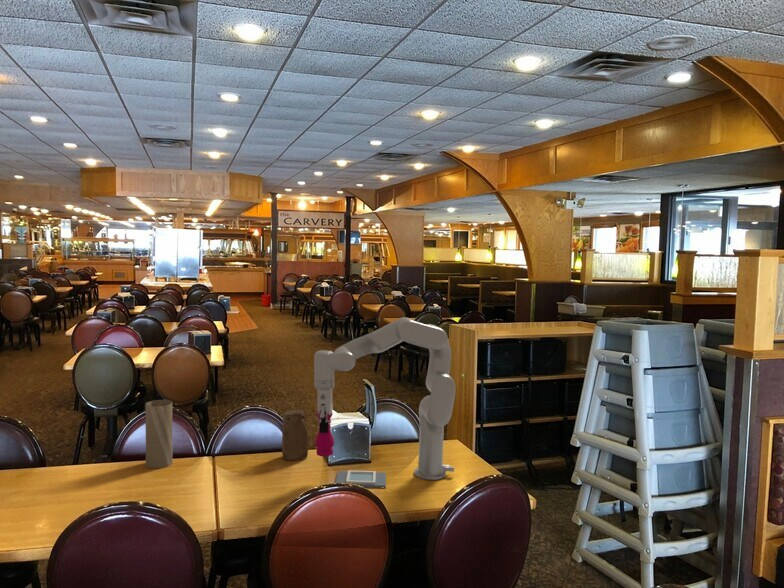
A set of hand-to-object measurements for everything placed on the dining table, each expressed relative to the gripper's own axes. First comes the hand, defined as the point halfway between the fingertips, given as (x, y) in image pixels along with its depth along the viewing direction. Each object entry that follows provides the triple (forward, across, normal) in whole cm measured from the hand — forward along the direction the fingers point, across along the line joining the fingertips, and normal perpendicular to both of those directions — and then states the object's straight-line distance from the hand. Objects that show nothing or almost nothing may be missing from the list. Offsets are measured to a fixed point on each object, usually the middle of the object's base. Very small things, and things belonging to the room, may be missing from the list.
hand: (324, 429), depth 236 cm
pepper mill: (+10, 0, 0) cm, 10 cm away
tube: (+18, +11, +68) cm, 71 cm away
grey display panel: (+20, 0, -14) cm, 24 cm away
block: (+20, +23, +15) cm, 34 cm away
